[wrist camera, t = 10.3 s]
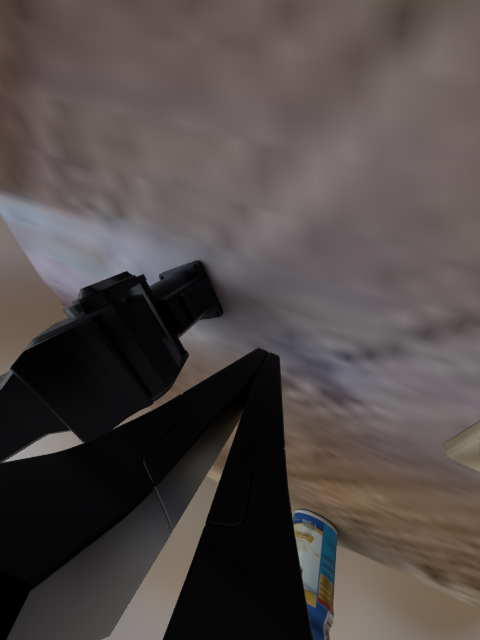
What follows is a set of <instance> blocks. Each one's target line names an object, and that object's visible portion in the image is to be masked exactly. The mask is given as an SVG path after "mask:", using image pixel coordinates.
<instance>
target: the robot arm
mask: <svg viewBox="0 0 480 640" xmlns="http://www.w3.org/2000/svg"><path fill="white" fill-rule="evenodd" d="M196 264H197V265H198V267H197V265H196ZM159 279H160V281H159V282H157V283H155V284H153V285H151V286H149V285H148V283H147V282H146V280H147V279H146V278H145V276H144V274H142V275H140V276H137V277H136V276H135V275H131V274H130V273H128V272H127V271H126V272H123V273H121V274H118V275H116V276H113V277H111V278H108V279H106V280H103V281H100V282H98V283H95V284H92V285H90V286H87V287H85V288H82V289H80V293H79V296H78V299H77V300H75V301H73V302H72V303H73V305H71V306H69V307H67V308H65V309H63V311H64V312H65V314H66V315H67V316H68V318H66V319H63V320H62V321H59V322H57V323H55V324H53V325H51V326H50V327H49V328H47V329H46V330H45V331H44V332H42V333H41V334H40V335H38V336H37V337H36V338H34V339H33V340H32V341H31V342H30V343H29V344H28V346H27V347H26V349H25V350H24V351H23V353H22V354H21V355H20V357H19V358H18V359H17V360H16V361H15V363H14V364H13V365H12V366H11V368H10V371H9V372H7V373H5V374H3V375H1V376H0V640H101V639H104V638H106V637H109V636H110V634H111V632H112V631H113V629H114V628H115V626H116V624H117V623H118V621H119V619H120V618H121V616H122V614H123V613H124V611H125V609H126V608H127V606H128V604H129V603H130V601H131V599H132V598H133V596H134V594H135V593H136V591H137V589H138V588H139V586H140V584H141V583H142V581H143V580H144V578H145V576H146V574H147V573H148V571H149V570H150V568H151V566H152V564H153V563H154V561H155V559H156V558H157V556H158V555H159V553H160V551H161V549H162V548H163V546H164V545H165V543H166V541H167V540H168V538H169V536H170V535H171V533H172V530H173V529H174V528H175V526H176V525H177V523H178V521H179V520H180V518H181V516H182V515H183V513H184V511H185V510H186V508H187V506H188V505H189V503H190V501H191V500H192V498H193V496H194V495H195V493H196V491H197V490H198V488H199V486H200V485H201V483H202V481H203V480H204V478H205V476H206V475H207V473H208V472H209V470H210V468H211V467H212V465H213V463H214V462H215V460H216V458H217V457H218V455H219V453H220V452H221V450H222V448H223V447H224V445H225V443H226V442H227V440H228V438H229V437H230V435H231V433H232V432H233V430H234V428H235V427H236V425H237V423H238V422H239V420H240V418H241V420H240V423H239V426H238V428H237V431H236V434H235V437H234V440H233V443H232V446H231V449H230V452H229V455H228V458H227V461H226V464H225V467H224V470H223V473H222V476H221V479H220V482H219V484H218V487H217V491H216V493H215V496H214V499H213V502H212V505H211V508H210V511H209V514H208V517H207V520H206V525H205V527H204V529H203V532H202V535H201V537H200V540H199V543H198V546H197V549H196V552H195V555H194V557H193V560H192V563H191V566H190V568H189V571H188V574H187V577H186V579H185V582H184V585H183V587H182V590H181V592H180V595H179V598H178V600H177V603H176V606H175V608H174V611H173V614H172V617H171V619H170V621H169V624H168V627H167V630H166V632H165V635H164V638H163V640H314V637H313V633H312V628H311V623H310V618H309V613H308V608H307V602H306V597H305V591H304V585H303V579H302V573H301V567H300V561H299V555H298V549H297V543H296V537H295V531H294V525H293V519H292V512H291V505H290V498H289V490H288V480H287V469H286V454H285V449H284V448H285V440H284V422H283V405H282V388H281V371H280V357H279V356H278V355H276V354H273V353H271V352H270V353H268V351H266V350H263V349H261V348H257V349H255V350H254V351H252V352H250V353H249V354H247V355H245V356H244V357H242V358H240V359H239V360H237V361H235V362H234V363H232V364H230V365H229V366H227V367H225V368H224V369H222V370H220V371H219V372H217V373H215V374H214V375H212V376H210V377H209V378H207V379H205V380H204V381H202V382H200V383H199V384H197V385H195V386H194V387H192V388H190V389H189V390H187V391H185V392H184V393H183V395H182V394H180V395H178V396H177V397H175V398H173V399H172V400H170V401H168V402H167V403H165V404H163V405H161V406H159V407H158V408H156V409H154V410H152V411H150V412H148V413H146V414H144V415H142V416H140V417H138V418H136V419H134V420H132V421H130V422H128V423H125V424H123V425H121V426H119V427H117V428H115V427H116V426H117V425H119V424H120V423H121V422H123V421H124V420H125V419H127V418H128V417H130V416H131V415H133V414H135V413H136V412H138V411H140V410H142V409H144V408H147V407H149V406H151V405H152V404H153V403H154V401H156V400H158V399H159V398H160V397H162V396H163V395H164V394H165V393H166V392H167V391H168V390H169V389H170V388H171V387H172V385H173V384H174V382H175V380H176V378H177V377H178V375H179V373H180V371H181V369H182V367H183V366H184V364H185V362H186V360H187V358H188V357H189V354H188V352H187V351H186V350H185V349H184V347H183V345H182V344H181V342H180V340H179V338H180V337H181V336H182V335H183V334H184V333H185V332H186V331H187V330H189V329H190V328H191V327H192V326H193V325H194V324H195V323H196V322H198V321H199V320H202V319H209V318H215V317H220V316H221V315H222V314H223V310H222V308H221V306H220V303H219V301H218V299H217V297H216V294H215V292H214V290H213V288H212V285H211V283H210V281H209V279H208V276H207V274H206V272H205V270H204V267H203V265H202V263H201V262H200V261H194V262H191V263H188V264H186V265H183V266H180V267H177V268H174V269H172V270H169V271H166V272H163V273H161V274H159ZM217 311H218V312H219V313H218V312H217ZM113 428H115V429H113ZM112 429H113V430H112ZM67 431H72V432H73V433H74V434H75V435H76V436H77V437H78V438H79V439H80V440H81V441H82V442H84V443H83V444H80V445H78V446H75V447H72V448H69V449H66V450H63V451H59V452H56V453H52V454H47V455H42V456H36V457H31V458H26V459H20V460H15V461H9V462H4V461H5V460H7V459H9V458H10V457H12V456H13V455H15V454H17V453H18V452H20V451H22V450H23V449H25V448H26V447H28V446H30V445H31V444H33V443H34V442H36V441H38V440H39V439H41V438H43V437H45V436H47V435H49V434H54V433H60V432H67ZM2 462H4V463H2Z"/></svg>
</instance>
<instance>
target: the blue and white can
mask: <svg viewBox="0 0 480 640" xmlns="http://www.w3.org/2000/svg"><path fill="white" fill-rule="evenodd" d="M293 525H294V531H295V537H296V543H297V549H298V555H299V561H300V567H301V573H302V579H303V585H304V591H305V597H306V602H307V608H308V613H309V618H310V623H311V628H312V633H313V637H314V640H330V638H329V630H330V628H331V626H332V624H333V616H334V612H333V598H334V580H335V562H336V545H337V531H336V529H335V528H334V527H333V525H332V524H331V523H329V522H328V521H327V520H325V519H324V518H322V517H321V516H319V515H317V514H315V513H313V512H310V511H307V510H301V509H300V510H296V511H295V513H294V517H293Z"/></svg>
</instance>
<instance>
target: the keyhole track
mask: <svg viewBox="0 0 480 640" xmlns="http://www.w3.org/2000/svg"><path fill="white" fill-rule="evenodd" d="M443 448H444V451H445V454H446V457H447V458H449V459H452V460H454V461H456V462H458V463H461V464H463V465H465V466H467V467H470V468H472V469H474V470H476V471H479V472H480V421H479V422H478V423H476V424H475V425H473V426H472V427H470V428H468V429H467V430H465V431H464V432H462V433H461V434H459V435H458V436H456V437H454V438H453V439H451V440H450V441H448V442H447V443H445V444H443Z"/></svg>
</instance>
